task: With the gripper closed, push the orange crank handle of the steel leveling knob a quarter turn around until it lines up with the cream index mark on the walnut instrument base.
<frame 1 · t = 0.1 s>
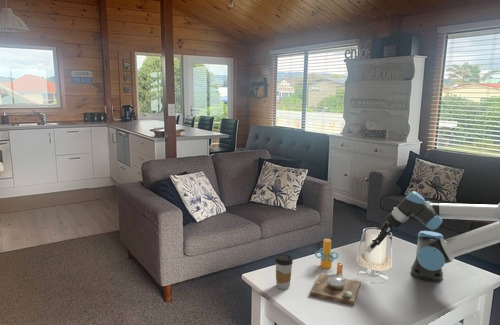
hand: (368, 246, 198), 15 cm above the table, tool tilted 35°, fingers open, 13 cm apart
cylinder: (325, 266, 210), on the table
instrument base: (335, 290, 184), on the table
leveling knob: (337, 276, 185), point 6 cm above the table, hinge at -90.0°
coffee cup: (283, 286, 187), on the table
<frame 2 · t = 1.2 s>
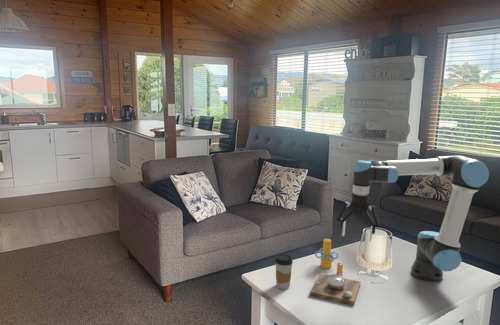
hand: (356, 237, 184), 25 cm above the table, tool pointing down, fingers open, 12 cm apart
nothing on the table moved.
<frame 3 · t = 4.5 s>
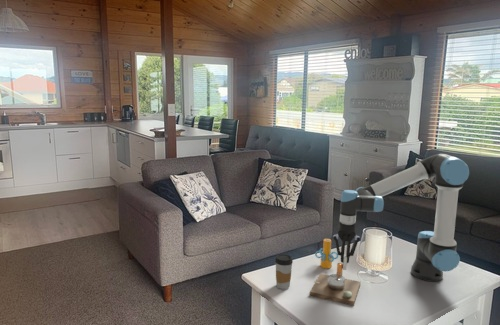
hand: (344, 268, 189), 8 cm above the table, tool pointing down, fingers closed
leveling knob: (337, 276, 185), point 6 cm above the table, hinge at -90.0°, touching gripper
everything else where it was.
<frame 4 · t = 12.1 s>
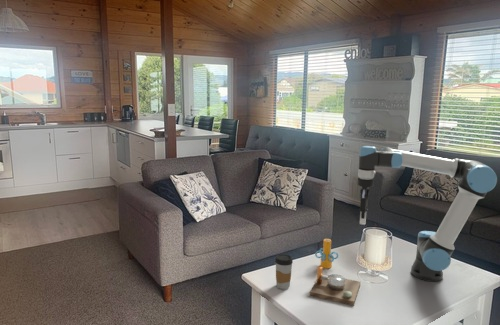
hand: (362, 223, 193), 28 cm above the table, tool pointing down, fingers closed
leveling knob: (330, 277, 184), point 6 cm above the table, hinge at 0.3°
everything else where it was.
at the end: leveling knob at +0° (first picture: -90°); coffee cup moved 0.2 cm from its start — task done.
